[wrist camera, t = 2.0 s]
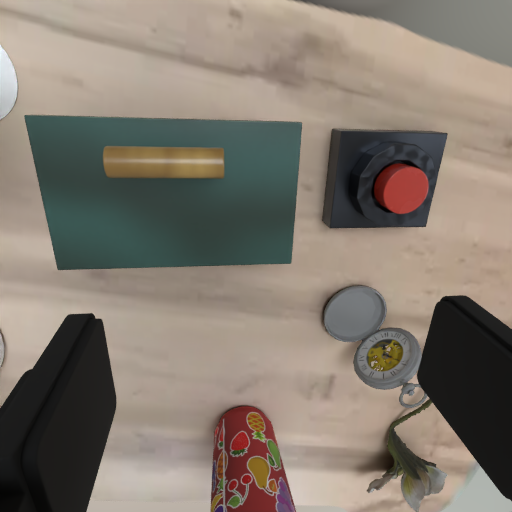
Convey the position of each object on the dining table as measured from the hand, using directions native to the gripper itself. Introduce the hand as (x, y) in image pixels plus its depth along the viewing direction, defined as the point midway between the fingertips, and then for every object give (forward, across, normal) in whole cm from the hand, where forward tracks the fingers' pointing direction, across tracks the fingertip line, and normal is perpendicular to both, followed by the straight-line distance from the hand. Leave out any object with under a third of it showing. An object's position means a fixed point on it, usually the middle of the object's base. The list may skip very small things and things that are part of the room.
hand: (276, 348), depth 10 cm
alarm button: (+19, -13, 0) cm, 23 cm away
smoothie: (+22, -2, +28) cm, 36 cm away
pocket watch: (+22, -14, +15) cm, 30 cm away
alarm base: (+22, -13, 0) cm, 26 cm away
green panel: (+16, +4, 0) cm, 16 cm away
